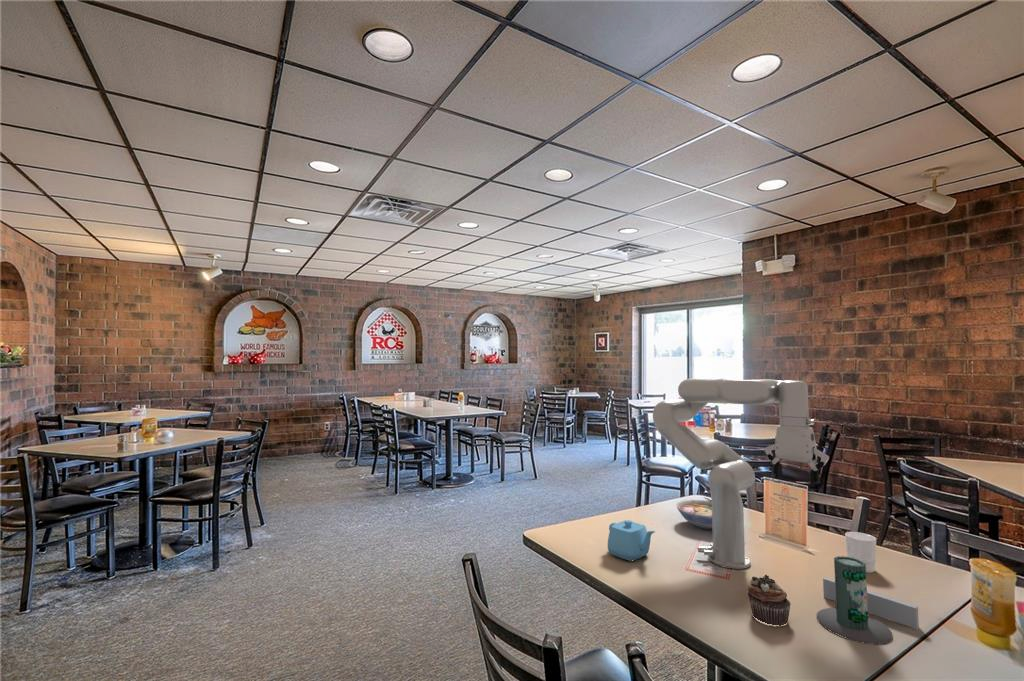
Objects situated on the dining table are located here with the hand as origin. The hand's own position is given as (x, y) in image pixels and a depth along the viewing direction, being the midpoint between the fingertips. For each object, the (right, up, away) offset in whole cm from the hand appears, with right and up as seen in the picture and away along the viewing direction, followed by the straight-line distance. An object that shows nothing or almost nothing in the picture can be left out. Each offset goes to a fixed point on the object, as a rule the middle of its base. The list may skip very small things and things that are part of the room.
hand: (796, 480), depth 138 cm
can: (0, -29, -23) cm, 37 cm away
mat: (0, -29, -23) cm, 37 cm away
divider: (+9, -30, -16) cm, 35 cm away
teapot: (-44, -32, +19) cm, 57 cm away
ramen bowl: (-6, -33, +49) cm, 59 cm away
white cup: (+27, -31, +10) cm, 42 cm away
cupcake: (-19, -30, -19) cm, 40 cm away
